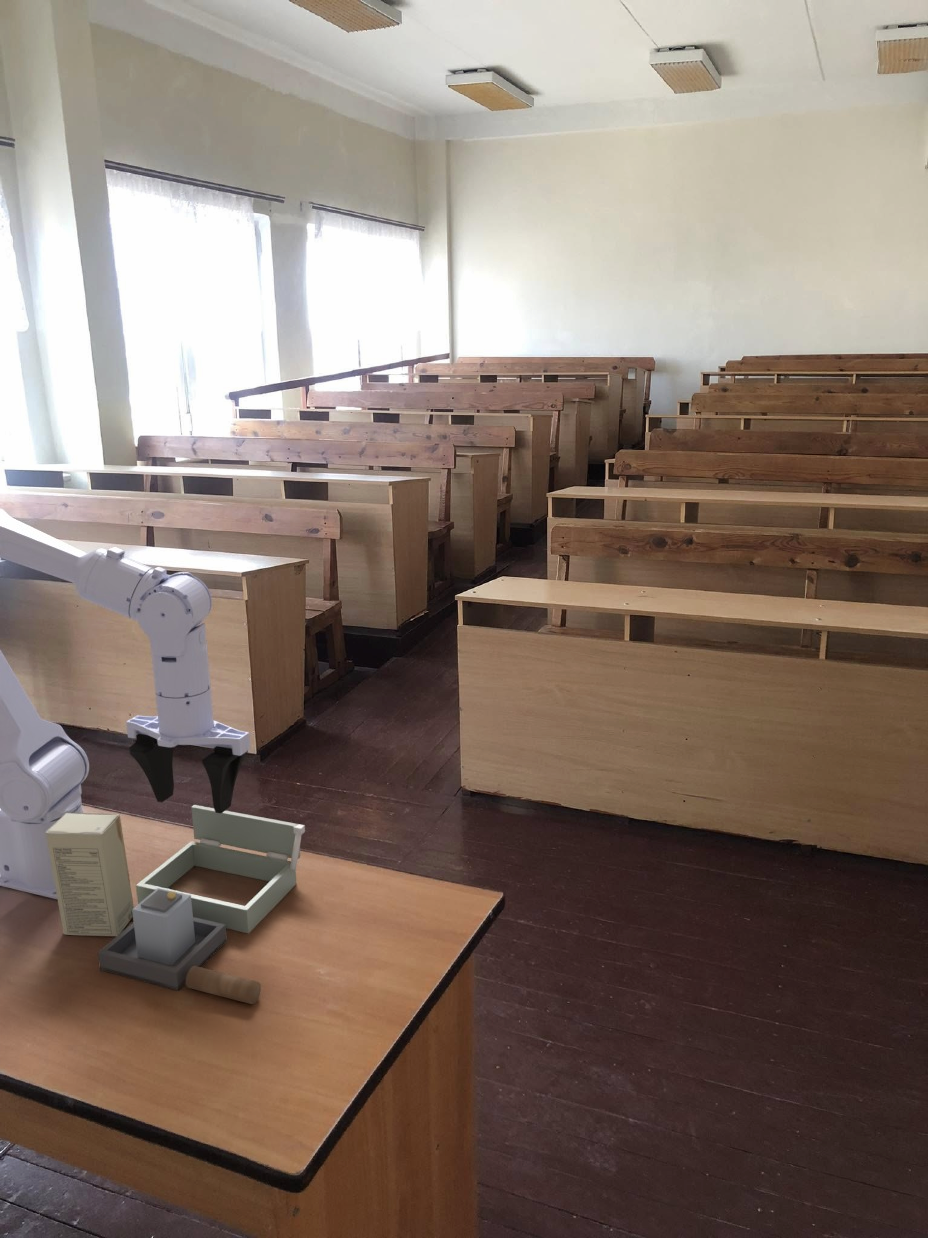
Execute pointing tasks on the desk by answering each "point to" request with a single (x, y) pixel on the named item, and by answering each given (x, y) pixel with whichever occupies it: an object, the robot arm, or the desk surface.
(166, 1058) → the desk surface
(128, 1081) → the desk surface
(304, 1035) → the desk surface
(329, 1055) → the desk surface
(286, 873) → the equipment case
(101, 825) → the skincare box
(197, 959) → the socket
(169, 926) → the block
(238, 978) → the rod
